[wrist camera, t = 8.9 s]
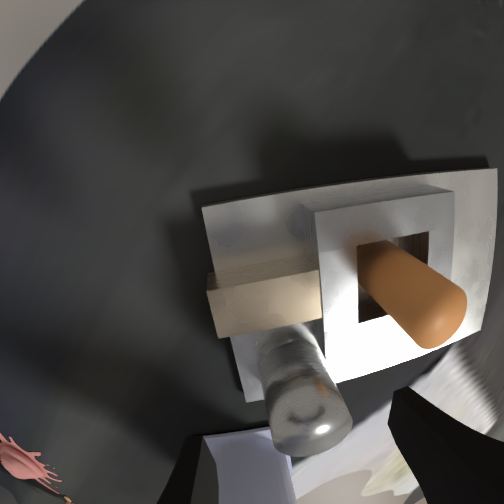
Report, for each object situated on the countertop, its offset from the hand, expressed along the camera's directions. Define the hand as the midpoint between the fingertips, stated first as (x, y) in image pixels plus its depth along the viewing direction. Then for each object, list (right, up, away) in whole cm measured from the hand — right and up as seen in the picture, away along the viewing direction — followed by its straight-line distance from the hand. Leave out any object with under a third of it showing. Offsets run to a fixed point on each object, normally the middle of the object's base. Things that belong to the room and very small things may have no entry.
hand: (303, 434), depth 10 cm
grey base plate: (+7, +5, +10) cm, 13 cm away
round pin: (+6, +6, +8) cm, 12 cm away
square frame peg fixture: (+3, +5, +8) cm, 10 cm away
